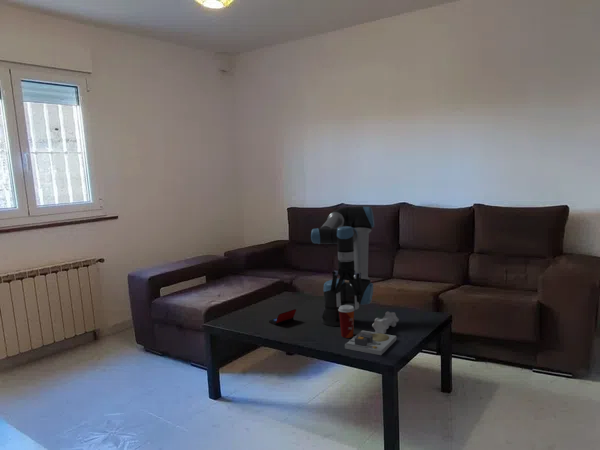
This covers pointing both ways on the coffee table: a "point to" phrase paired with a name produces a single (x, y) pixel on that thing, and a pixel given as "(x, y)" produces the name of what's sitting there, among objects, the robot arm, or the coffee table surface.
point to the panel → (372, 342)
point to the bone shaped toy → (385, 322)
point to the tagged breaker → (361, 341)
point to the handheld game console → (283, 317)
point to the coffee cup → (346, 320)
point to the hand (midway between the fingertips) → (347, 307)
